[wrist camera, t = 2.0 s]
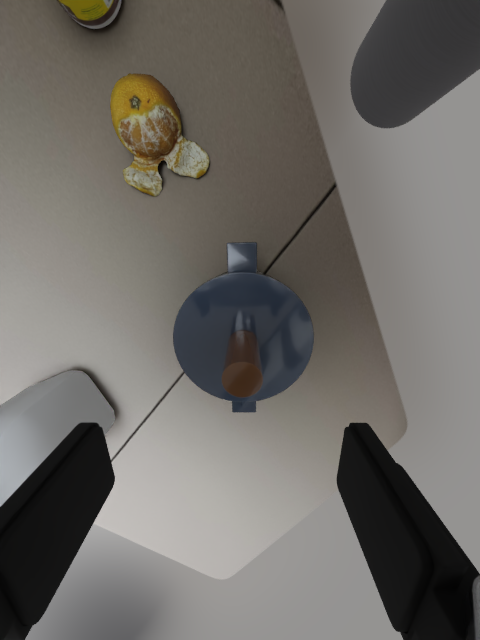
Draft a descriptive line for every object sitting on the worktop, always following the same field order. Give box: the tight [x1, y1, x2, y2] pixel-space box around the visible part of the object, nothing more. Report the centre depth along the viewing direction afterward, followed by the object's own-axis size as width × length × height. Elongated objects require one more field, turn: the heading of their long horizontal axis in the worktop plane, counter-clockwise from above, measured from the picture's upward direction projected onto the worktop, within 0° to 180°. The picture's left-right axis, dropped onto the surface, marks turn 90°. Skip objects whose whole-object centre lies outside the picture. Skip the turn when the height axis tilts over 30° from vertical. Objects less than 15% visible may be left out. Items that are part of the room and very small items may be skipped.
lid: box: [173, 272, 314, 402], centre depth 17 cm, size 12×12×7 cm
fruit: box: [110, 74, 209, 197], centre depth 20 cm, size 8×8×4 cm
